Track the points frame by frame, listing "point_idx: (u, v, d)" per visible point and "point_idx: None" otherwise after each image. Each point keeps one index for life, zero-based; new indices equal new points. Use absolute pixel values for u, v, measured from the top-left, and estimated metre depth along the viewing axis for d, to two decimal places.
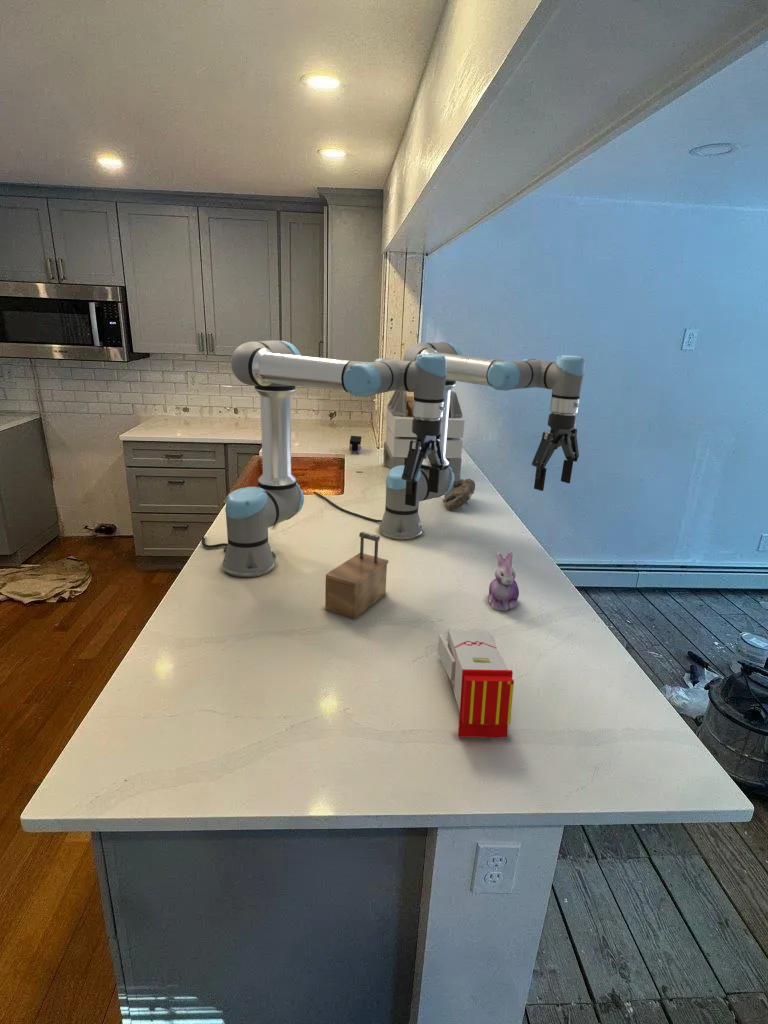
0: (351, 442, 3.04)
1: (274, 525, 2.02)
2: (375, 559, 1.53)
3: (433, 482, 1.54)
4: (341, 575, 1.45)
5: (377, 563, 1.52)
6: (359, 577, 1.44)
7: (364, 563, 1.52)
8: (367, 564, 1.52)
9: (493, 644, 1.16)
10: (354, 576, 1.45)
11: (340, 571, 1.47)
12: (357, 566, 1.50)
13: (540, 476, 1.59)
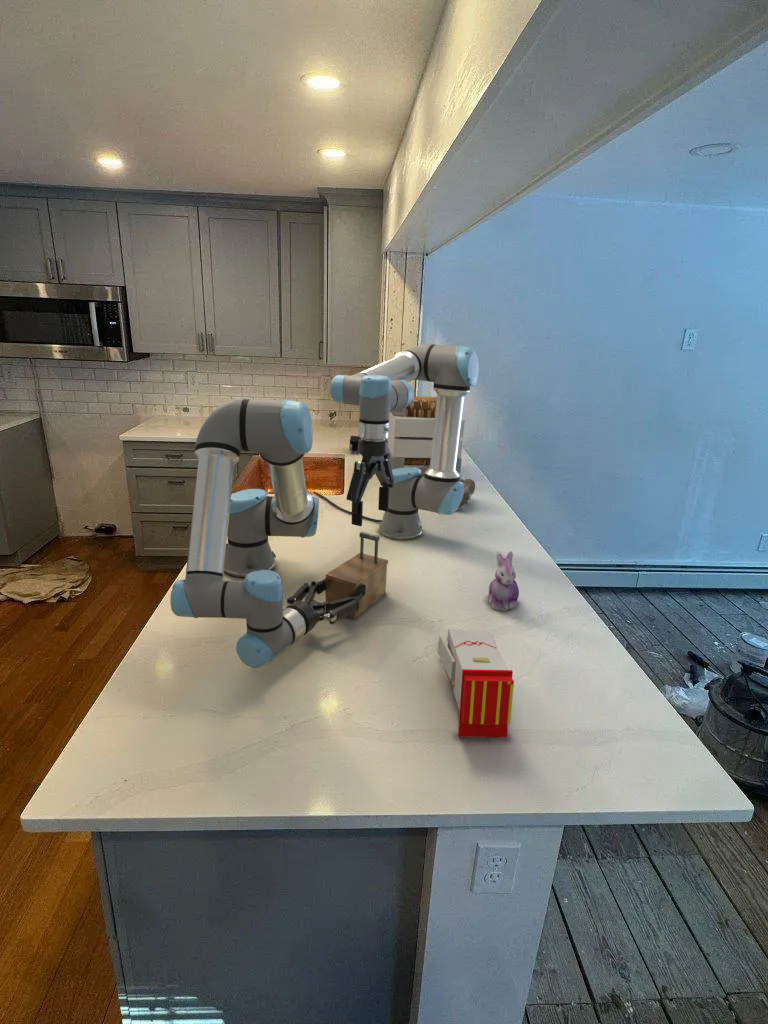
0: (351, 442, 3.04)
1: None
2: (375, 559, 1.53)
3: None
4: (341, 575, 1.45)
5: (377, 563, 1.52)
6: (359, 577, 1.44)
7: (364, 563, 1.52)
8: (367, 564, 1.52)
9: (493, 644, 1.16)
10: (354, 576, 1.45)
11: (340, 571, 1.47)
12: (357, 566, 1.50)
13: (357, 511, 1.42)
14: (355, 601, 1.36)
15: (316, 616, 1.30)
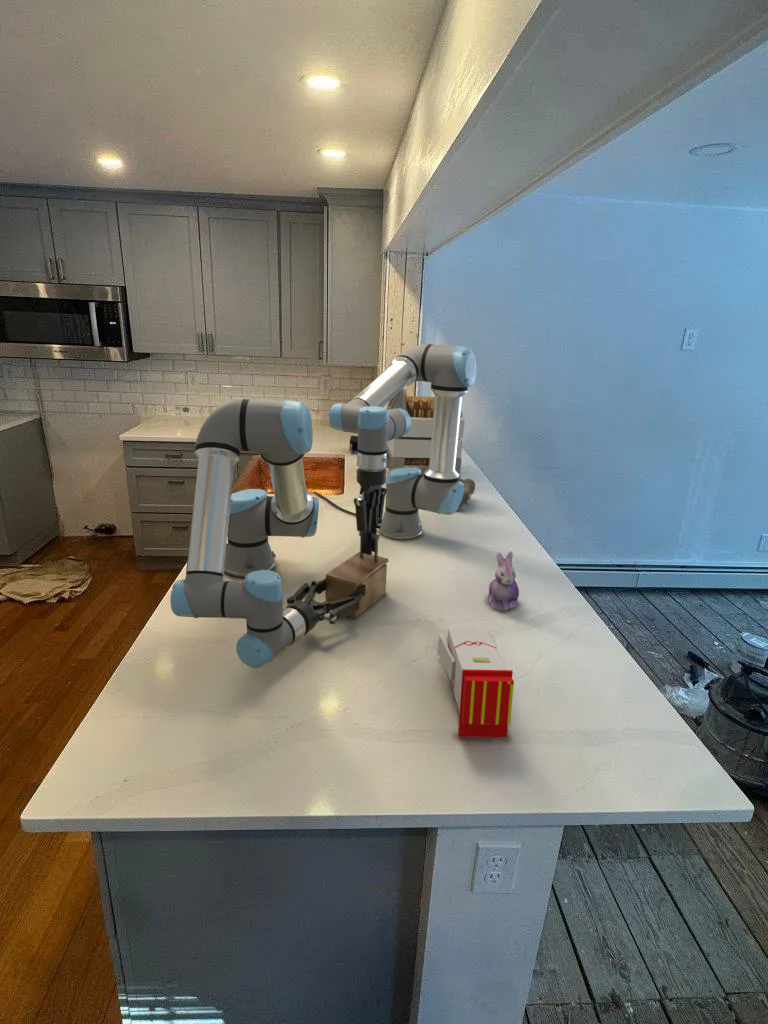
0: (351, 442, 3.04)
1: None
2: (375, 558, 1.53)
3: None
4: (341, 575, 1.45)
5: (377, 562, 1.52)
6: (359, 577, 1.44)
7: (364, 562, 1.52)
8: (367, 563, 1.51)
9: (493, 644, 1.16)
10: (354, 576, 1.44)
11: (340, 571, 1.47)
12: (357, 565, 1.50)
13: (367, 541, 1.50)
14: (355, 601, 1.36)
15: (316, 616, 1.30)
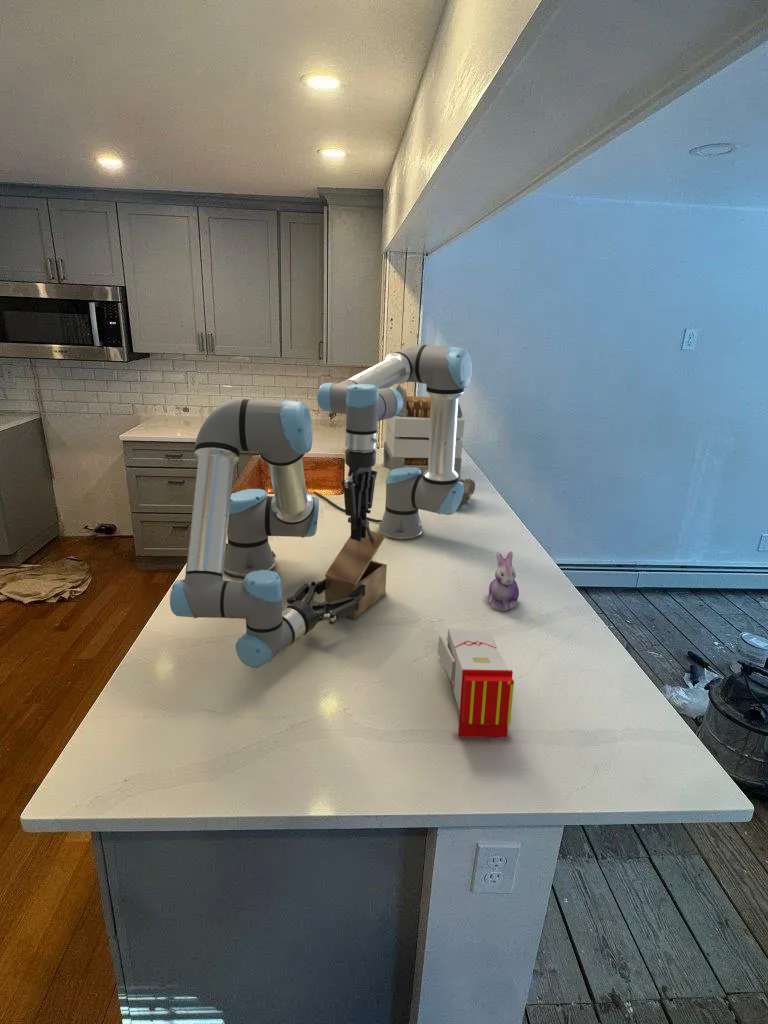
0: None
1: None
2: (371, 539, 1.48)
3: None
4: (340, 573, 1.44)
5: (374, 543, 1.48)
6: (357, 573, 1.43)
7: (361, 546, 1.49)
8: (364, 547, 1.48)
9: (493, 644, 1.16)
10: (352, 572, 1.43)
11: (338, 567, 1.45)
12: (354, 553, 1.47)
13: (356, 526, 1.43)
14: (355, 601, 1.36)
15: (316, 616, 1.29)
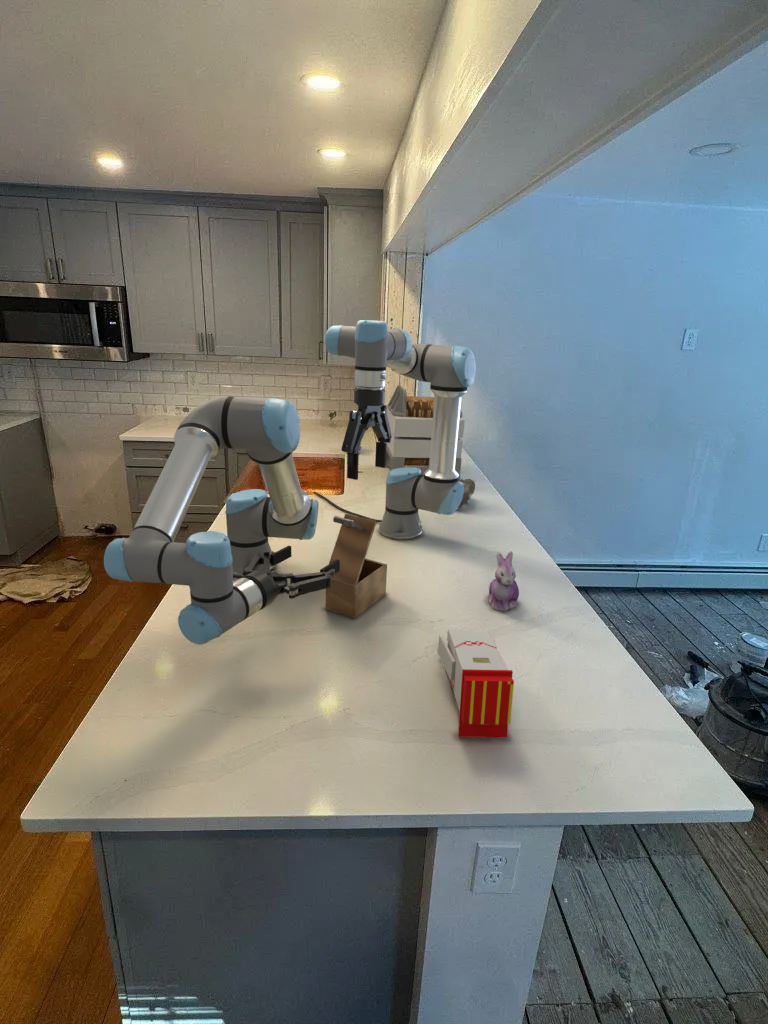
0: None
1: None
2: (362, 530, 1.43)
3: None
4: (339, 572, 1.43)
5: (366, 532, 1.43)
6: (355, 571, 1.42)
7: (354, 537, 1.44)
8: (357, 539, 1.44)
9: (493, 644, 1.16)
10: (350, 570, 1.42)
11: None
12: (349, 547, 1.44)
13: (352, 463, 1.35)
14: (325, 577, 1.19)
15: (275, 588, 1.14)
